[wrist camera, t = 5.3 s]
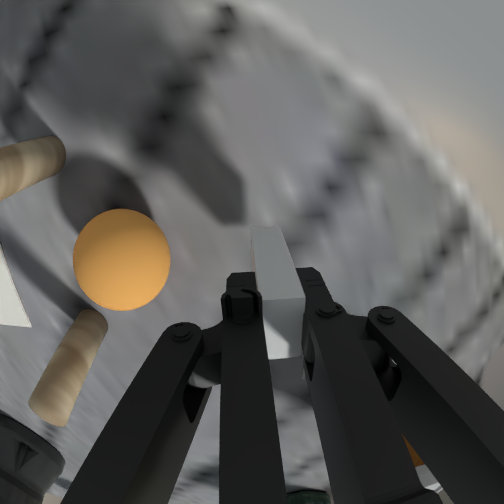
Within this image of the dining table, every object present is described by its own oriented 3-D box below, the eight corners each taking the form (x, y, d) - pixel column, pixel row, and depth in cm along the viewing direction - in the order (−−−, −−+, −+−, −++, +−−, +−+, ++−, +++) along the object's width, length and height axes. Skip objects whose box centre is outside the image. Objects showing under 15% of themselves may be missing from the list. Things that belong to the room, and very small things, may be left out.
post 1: (38, 178, 16) (-59, 230, 8) (32, 140, 15) (-70, 173, 7) (68, 172, 16) (-31, 223, 8) (63, 131, 15) (-44, 159, 7)
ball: (131, 345, 13) (195, 291, 18) (102, 239, 11) (185, 200, 15) (71, 310, 16) (132, 271, 20) (45, 223, 13) (118, 193, 18)
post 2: (84, 334, 21) (41, 422, 13) (74, 308, 20) (21, 395, 12) (112, 336, 21) (73, 429, 13) (102, 308, 20) (53, 403, 12)
